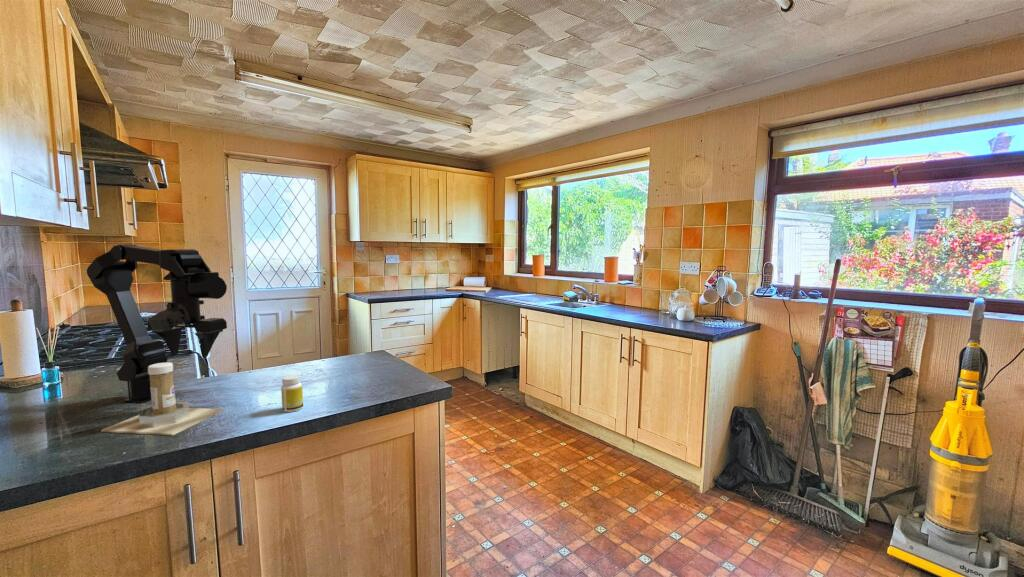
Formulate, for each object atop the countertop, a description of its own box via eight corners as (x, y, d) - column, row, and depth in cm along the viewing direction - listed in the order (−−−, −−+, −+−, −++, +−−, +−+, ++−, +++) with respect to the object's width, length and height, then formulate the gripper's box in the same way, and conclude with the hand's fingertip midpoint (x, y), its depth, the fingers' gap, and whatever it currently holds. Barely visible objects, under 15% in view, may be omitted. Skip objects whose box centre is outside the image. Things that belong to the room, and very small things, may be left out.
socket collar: (129, 426, 97) (128, 415, 97) (166, 411, 106) (165, 401, 106) (164, 427, 96) (164, 417, 96) (198, 412, 105) (198, 402, 105)
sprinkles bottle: (176, 420, 100) (171, 364, 99) (151, 424, 98) (146, 368, 96) (178, 413, 104) (173, 360, 103) (154, 418, 102) (149, 363, 100)
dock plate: (101, 431, 95) (101, 430, 95) (159, 408, 109) (159, 406, 109) (172, 435, 93) (172, 433, 93) (223, 410, 107) (223, 409, 107)
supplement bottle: (307, 406, 109) (305, 375, 108) (292, 413, 105) (290, 380, 104) (293, 404, 111) (291, 373, 110) (278, 411, 106) (276, 378, 105)
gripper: (122, 300, 103) (128, 362, 105) (187, 302, 100) (192, 366, 102) (166, 295, 114) (171, 351, 116) (226, 297, 111) (230, 354, 113)
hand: (189, 356), depth 111 cm, fingers open, 9 cm apart
